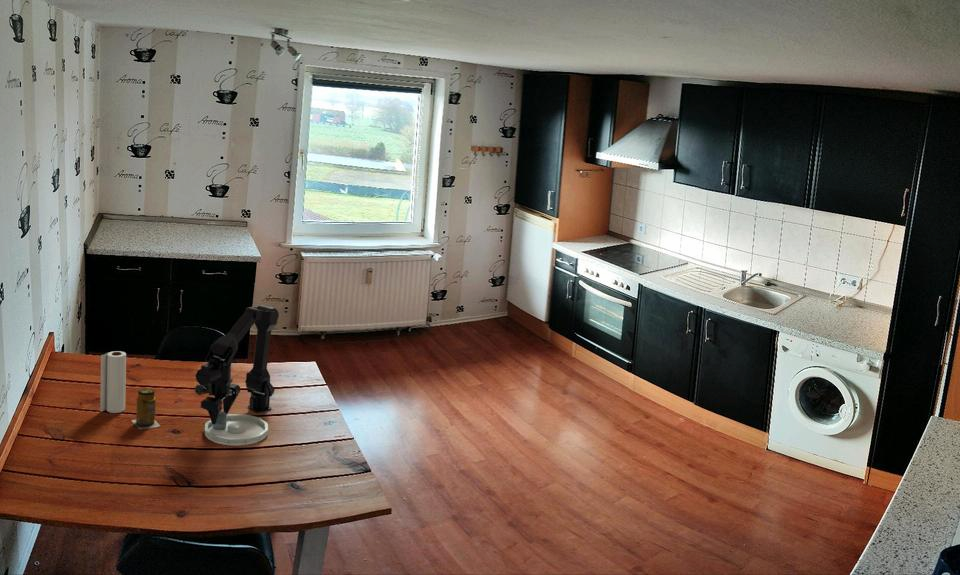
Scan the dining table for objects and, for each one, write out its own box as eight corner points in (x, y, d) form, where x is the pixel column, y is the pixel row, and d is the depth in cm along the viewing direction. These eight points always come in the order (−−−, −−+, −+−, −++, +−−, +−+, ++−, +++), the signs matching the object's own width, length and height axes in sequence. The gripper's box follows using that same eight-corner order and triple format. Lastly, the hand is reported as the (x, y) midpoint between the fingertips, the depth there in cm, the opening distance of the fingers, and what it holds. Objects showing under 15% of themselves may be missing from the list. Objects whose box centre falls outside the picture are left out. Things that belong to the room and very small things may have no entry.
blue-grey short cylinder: (222, 423, 293) (222, 410, 292) (228, 428, 291) (229, 415, 289) (210, 426, 290) (211, 413, 289) (217, 431, 287) (217, 417, 286)
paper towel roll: (127, 407, 299) (128, 351, 294) (121, 414, 293) (122, 357, 288) (107, 405, 298) (108, 349, 293) (100, 412, 293) (100, 354, 287)
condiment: (152, 417, 294) (153, 385, 291) (160, 426, 287) (161, 394, 284) (131, 420, 289) (131, 388, 286) (138, 430, 283) (139, 397, 280)
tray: (246, 415, 304) (247, 410, 304) (279, 436, 291) (279, 430, 290) (193, 428, 289) (193, 422, 288) (224, 450, 275) (225, 444, 275)
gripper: (212, 364, 296) (210, 405, 299) (186, 382, 278) (184, 425, 281) (241, 369, 294) (239, 410, 298) (218, 387, 276) (216, 430, 280)
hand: (219, 419), depth 290 cm, fingers open, 9 cm apart
